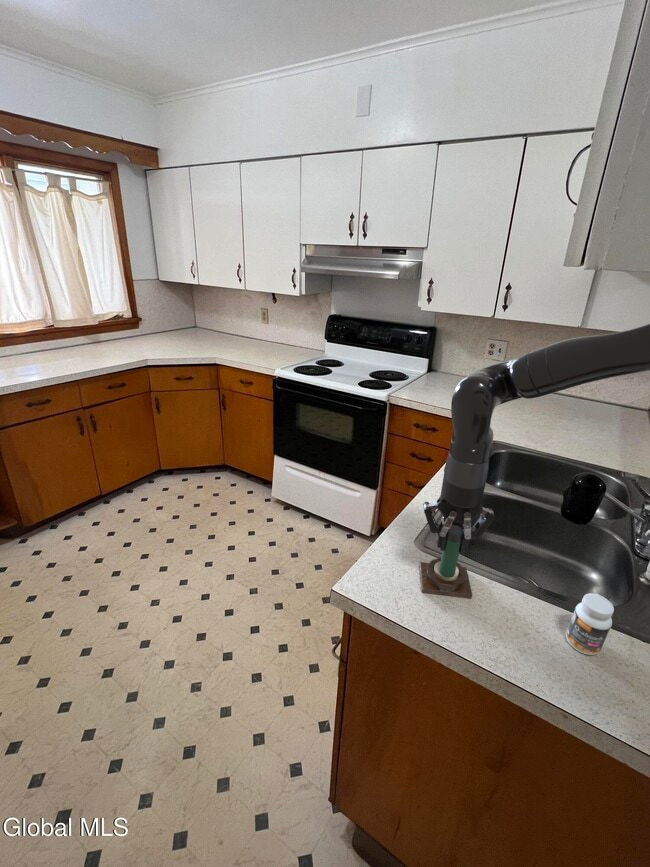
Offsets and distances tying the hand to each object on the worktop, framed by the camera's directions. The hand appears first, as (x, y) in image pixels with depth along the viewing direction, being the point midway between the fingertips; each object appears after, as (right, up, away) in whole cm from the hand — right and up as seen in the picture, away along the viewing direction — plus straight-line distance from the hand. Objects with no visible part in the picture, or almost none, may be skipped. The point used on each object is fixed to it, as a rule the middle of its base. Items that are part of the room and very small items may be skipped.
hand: (451, 548), depth 86 cm
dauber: (0, -6, +3) cm, 6 cm away
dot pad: (0, -7, +4) cm, 8 cm away
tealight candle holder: (0, -8, +5) cm, 10 cm away
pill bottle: (+22, -15, -8) cm, 28 cm away
